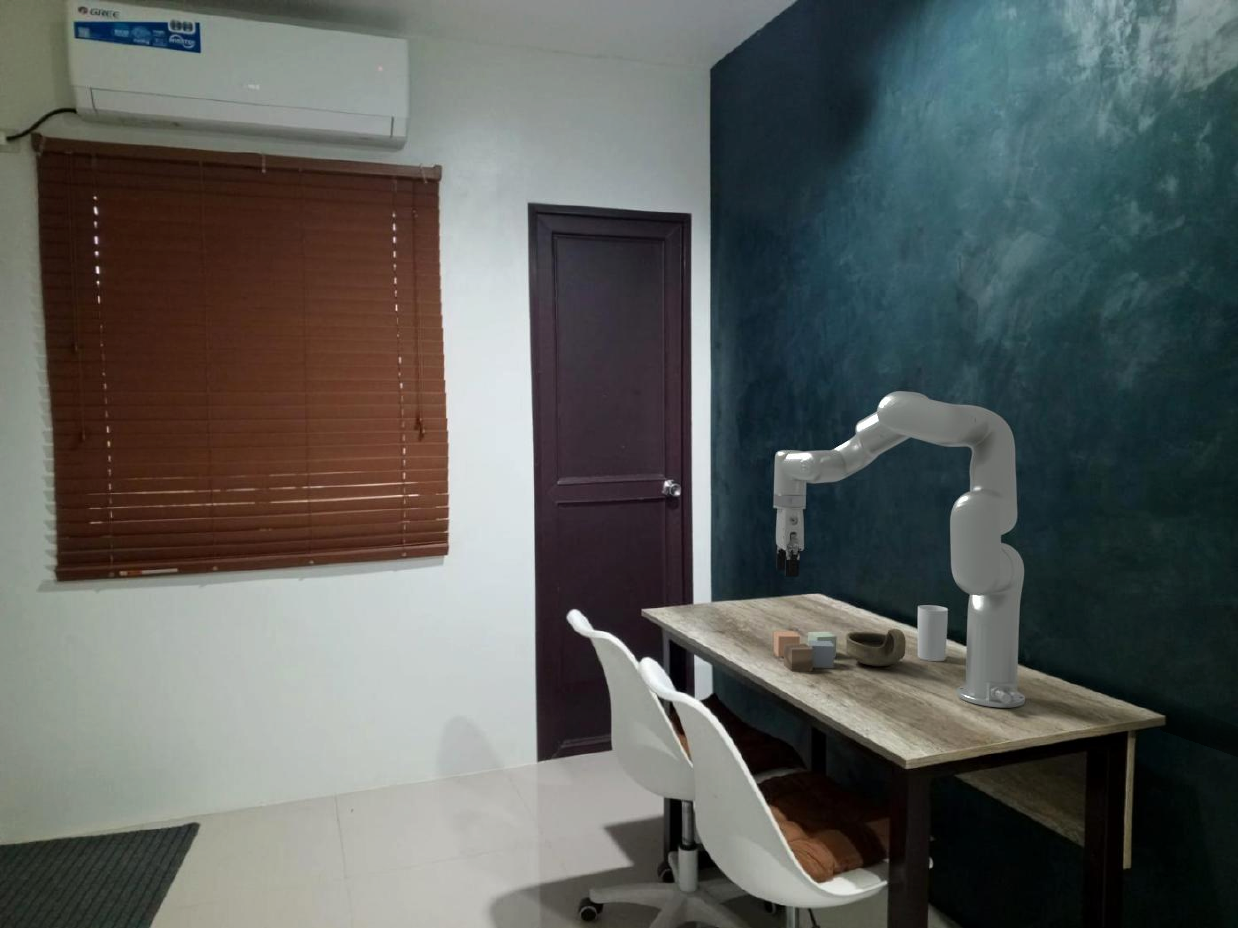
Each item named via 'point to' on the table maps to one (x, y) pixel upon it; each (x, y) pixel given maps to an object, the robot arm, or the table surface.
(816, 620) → the table surface
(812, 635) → the sage cube
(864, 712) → the table surface
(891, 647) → the bowl
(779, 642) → the terracotta cube
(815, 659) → the slate cube
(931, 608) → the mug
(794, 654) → the walnut cube
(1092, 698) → the table surface
